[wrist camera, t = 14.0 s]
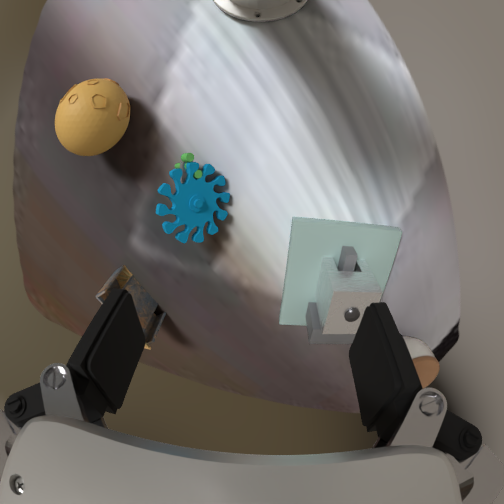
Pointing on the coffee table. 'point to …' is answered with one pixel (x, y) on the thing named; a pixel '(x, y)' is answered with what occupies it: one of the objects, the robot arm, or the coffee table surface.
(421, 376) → the lidded bowl
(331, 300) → the grey box with knob
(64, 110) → the stress ball
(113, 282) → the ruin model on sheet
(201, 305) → the coffee table surface
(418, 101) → the coffee table surface
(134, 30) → the coffee table surface
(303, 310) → the plate with grey stand
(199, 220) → the gear
